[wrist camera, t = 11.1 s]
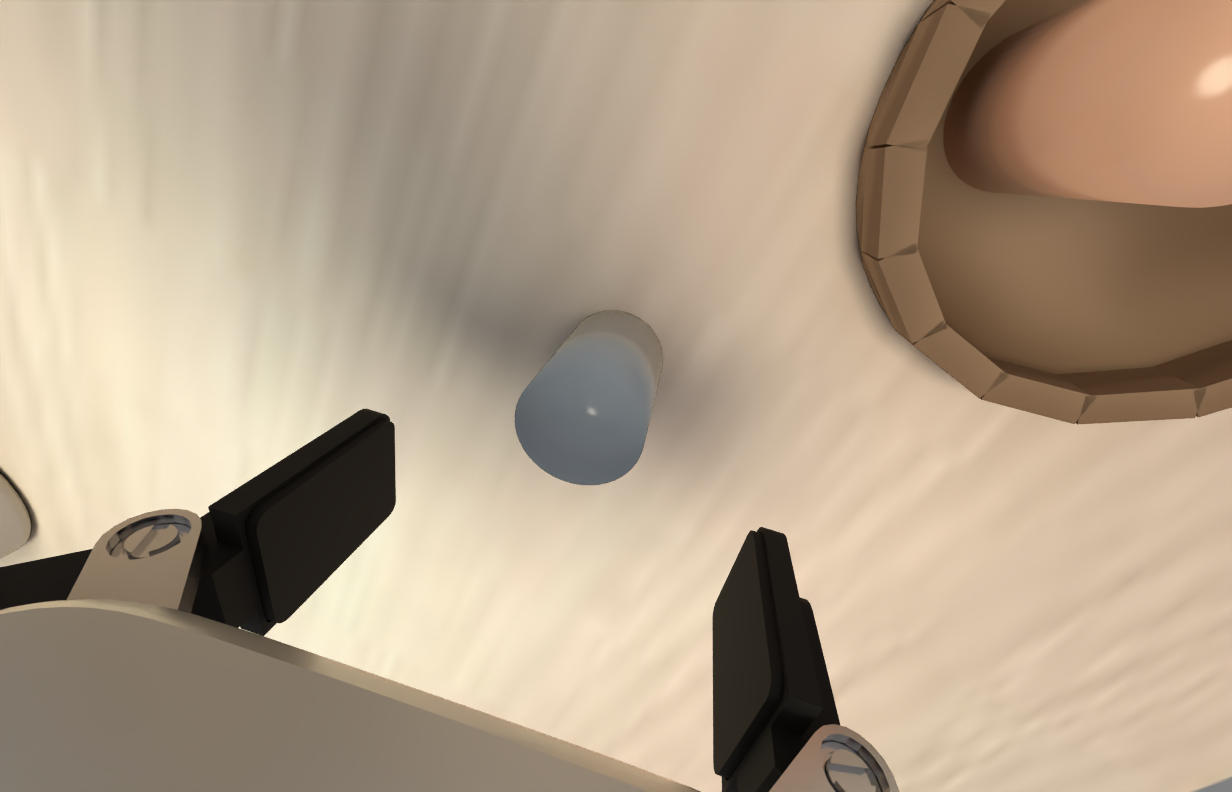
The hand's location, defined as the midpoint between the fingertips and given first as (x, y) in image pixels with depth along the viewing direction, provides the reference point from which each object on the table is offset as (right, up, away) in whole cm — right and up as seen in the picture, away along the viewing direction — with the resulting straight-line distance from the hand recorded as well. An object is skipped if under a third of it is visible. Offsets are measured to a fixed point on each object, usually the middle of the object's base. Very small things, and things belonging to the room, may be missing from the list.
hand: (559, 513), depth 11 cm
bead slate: (+1, +5, +7) cm, 9 cm away
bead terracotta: (+13, +11, +1) cm, 17 cm away
